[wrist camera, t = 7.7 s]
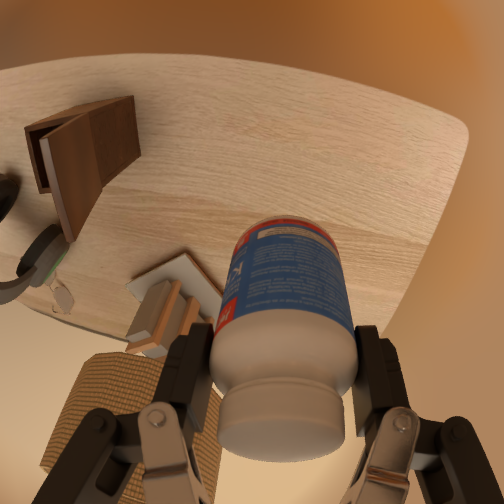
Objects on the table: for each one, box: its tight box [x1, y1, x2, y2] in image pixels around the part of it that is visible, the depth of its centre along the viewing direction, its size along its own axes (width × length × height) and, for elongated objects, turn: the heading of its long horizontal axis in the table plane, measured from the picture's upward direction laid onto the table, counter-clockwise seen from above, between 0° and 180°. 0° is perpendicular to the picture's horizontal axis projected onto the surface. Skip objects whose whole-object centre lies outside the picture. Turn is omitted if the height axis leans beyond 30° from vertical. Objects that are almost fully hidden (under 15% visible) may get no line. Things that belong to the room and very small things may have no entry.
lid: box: [39, 113, 102, 243], centre depth 24 cm, size 10×8×1 cm
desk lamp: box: [40, 252, 223, 504], centre depth 39 cm, size 20×20×35 cm
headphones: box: [0, 174, 70, 305], centre depth 38 cm, size 19×11×20 cm, turn 43°
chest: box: [24, 95, 141, 194], centre depth 33 cm, size 9×8×11 cm
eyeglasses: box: [20, 257, 73, 315], centre depth 54 cm, size 14×8×4 cm, turn 13°
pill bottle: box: [209, 215, 359, 462], centre depth 12 cm, size 6×5×10 cm
